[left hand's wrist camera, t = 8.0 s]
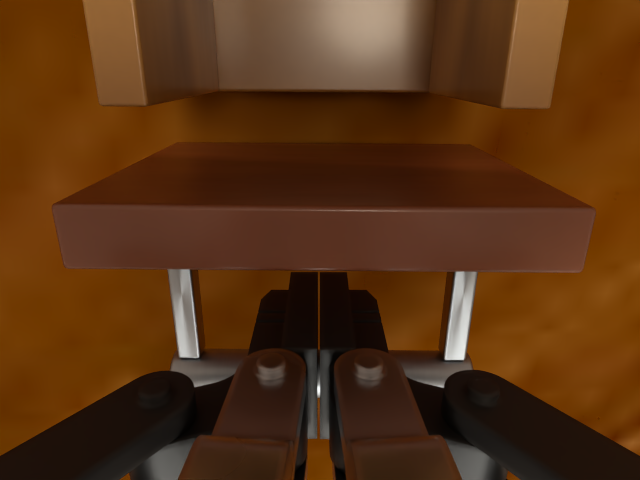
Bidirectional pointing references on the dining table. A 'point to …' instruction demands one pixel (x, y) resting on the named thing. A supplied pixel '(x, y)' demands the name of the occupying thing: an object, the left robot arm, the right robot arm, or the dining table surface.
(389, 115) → the dining table surface
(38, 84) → the dining table surface
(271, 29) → the drawer
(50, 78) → the dining table surface
